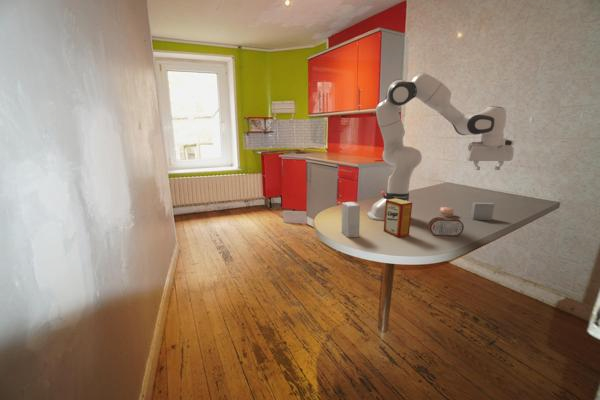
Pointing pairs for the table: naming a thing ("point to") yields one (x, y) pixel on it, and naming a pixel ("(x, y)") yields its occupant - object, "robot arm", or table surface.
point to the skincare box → (350, 219)
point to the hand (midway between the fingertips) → (487, 170)
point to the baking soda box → (397, 217)
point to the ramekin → (446, 211)
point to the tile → (482, 211)
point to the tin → (445, 226)
